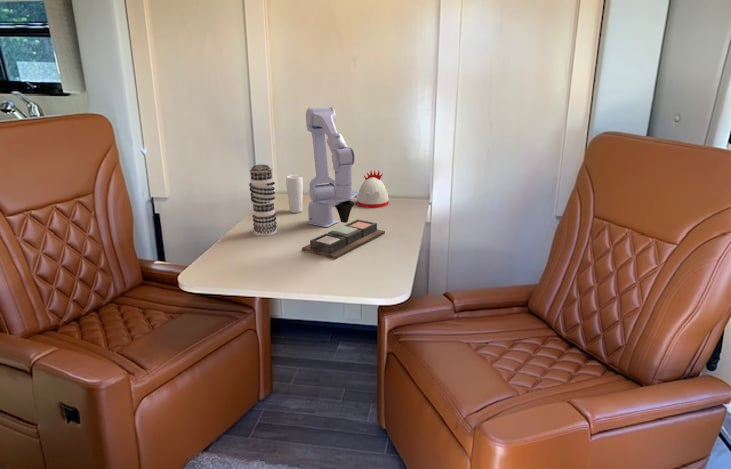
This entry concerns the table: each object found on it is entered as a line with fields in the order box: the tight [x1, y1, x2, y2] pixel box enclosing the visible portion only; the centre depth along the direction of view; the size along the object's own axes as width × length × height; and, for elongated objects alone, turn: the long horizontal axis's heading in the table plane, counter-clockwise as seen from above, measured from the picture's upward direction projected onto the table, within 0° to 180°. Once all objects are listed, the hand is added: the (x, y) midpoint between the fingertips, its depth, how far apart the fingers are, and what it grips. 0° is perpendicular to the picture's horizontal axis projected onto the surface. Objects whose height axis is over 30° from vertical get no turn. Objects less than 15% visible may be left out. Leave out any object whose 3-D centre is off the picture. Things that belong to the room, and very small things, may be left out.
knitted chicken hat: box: [356, 169, 390, 209], centre depth 227 cm, size 14×14×15 cm
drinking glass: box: [285, 174, 304, 214], centre depth 216 cm, size 7×7×15 cm
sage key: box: [331, 225, 358, 236], centre depth 183 cm, size 6×6×2 cm
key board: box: [301, 219, 386, 260], centre depth 183 cm, size 14×30×4 cm, turn 146°
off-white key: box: [316, 236, 340, 244], centre depth 176 cm, size 6×6×2 cm
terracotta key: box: [350, 222, 372, 229], centre depth 190 cm, size 6×6×2 cm
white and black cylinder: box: [248, 164, 278, 237], centre depth 190 cm, size 9×9×25 cm
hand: (344, 222), depth 181 cm, fingers closed
